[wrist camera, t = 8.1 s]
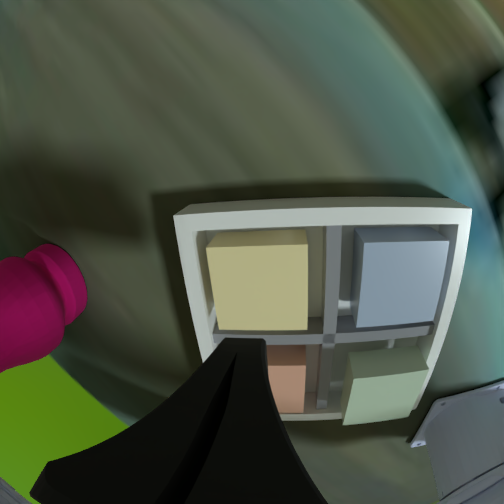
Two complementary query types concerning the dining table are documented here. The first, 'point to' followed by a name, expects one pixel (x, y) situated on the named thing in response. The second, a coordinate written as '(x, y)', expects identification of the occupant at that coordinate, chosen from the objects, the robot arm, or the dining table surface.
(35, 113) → the dining table surface
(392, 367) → the sage key
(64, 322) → the pepper mill
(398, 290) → the slate-blue key
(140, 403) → the dining table surface
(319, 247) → the keypad base
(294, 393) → the terracotta key
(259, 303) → the mustard key
